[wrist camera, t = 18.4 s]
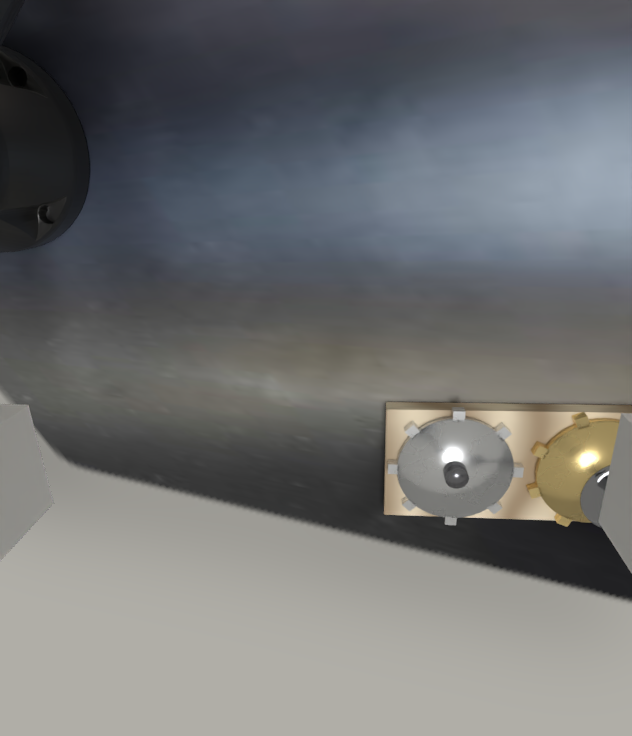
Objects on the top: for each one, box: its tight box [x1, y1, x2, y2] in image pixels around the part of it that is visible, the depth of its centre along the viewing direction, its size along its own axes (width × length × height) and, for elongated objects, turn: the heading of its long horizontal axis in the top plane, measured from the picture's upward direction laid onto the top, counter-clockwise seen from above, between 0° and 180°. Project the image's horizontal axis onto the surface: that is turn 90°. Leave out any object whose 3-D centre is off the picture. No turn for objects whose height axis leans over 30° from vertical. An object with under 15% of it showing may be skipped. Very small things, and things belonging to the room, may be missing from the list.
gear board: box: [384, 402, 632, 527], centre depth 45 cm, size 24×12×4 cm, turn 92°
